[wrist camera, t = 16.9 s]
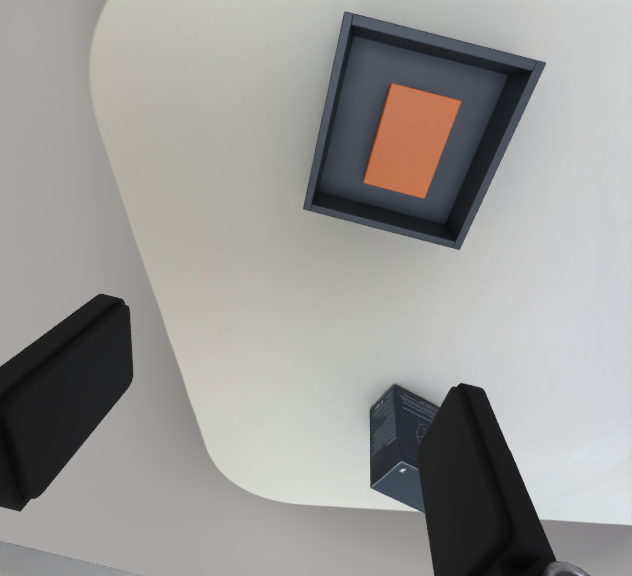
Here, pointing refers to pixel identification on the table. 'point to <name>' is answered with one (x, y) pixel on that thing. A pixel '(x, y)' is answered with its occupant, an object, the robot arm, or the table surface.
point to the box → (398, 445)
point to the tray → (461, 146)
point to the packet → (409, 140)
